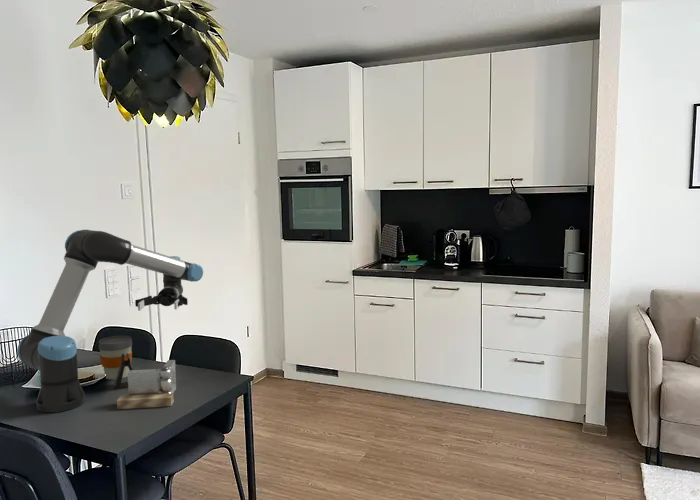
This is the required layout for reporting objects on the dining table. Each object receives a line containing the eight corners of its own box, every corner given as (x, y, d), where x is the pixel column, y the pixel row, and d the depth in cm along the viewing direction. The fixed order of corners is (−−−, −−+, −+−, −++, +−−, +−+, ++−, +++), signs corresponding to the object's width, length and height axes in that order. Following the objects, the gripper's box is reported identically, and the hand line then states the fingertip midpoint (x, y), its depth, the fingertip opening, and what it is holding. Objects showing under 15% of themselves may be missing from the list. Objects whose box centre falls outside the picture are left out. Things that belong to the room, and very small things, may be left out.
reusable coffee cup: (96, 375, 220) (93, 339, 218) (127, 368, 228) (125, 333, 226) (106, 383, 210) (104, 346, 209) (138, 375, 219) (136, 339, 217)
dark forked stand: (139, 381, 213) (137, 351, 211) (140, 386, 207) (138, 355, 206) (114, 384, 209) (112, 354, 208) (114, 389, 204) (112, 358, 202)
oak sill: (117, 409, 185) (116, 400, 185) (121, 404, 190) (120, 395, 189) (171, 406, 188) (171, 397, 187) (173, 401, 192) (173, 393, 192)
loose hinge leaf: (159, 402, 191) (158, 372, 190) (167, 388, 205) (165, 360, 204) (171, 401, 192) (169, 371, 191) (178, 387, 205) (176, 359, 204)
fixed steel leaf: (128, 403, 190) (126, 371, 189) (131, 399, 194) (129, 367, 193) (170, 401, 192) (169, 369, 191) (173, 396, 196) (171, 365, 195)
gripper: (198, 303, 232) (190, 314, 211) (138, 305, 229) (124, 317, 208) (198, 286, 231) (189, 296, 210) (137, 288, 228) (123, 298, 207)
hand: (157, 306), depth 209 cm, fingers open, 13 cm apart
